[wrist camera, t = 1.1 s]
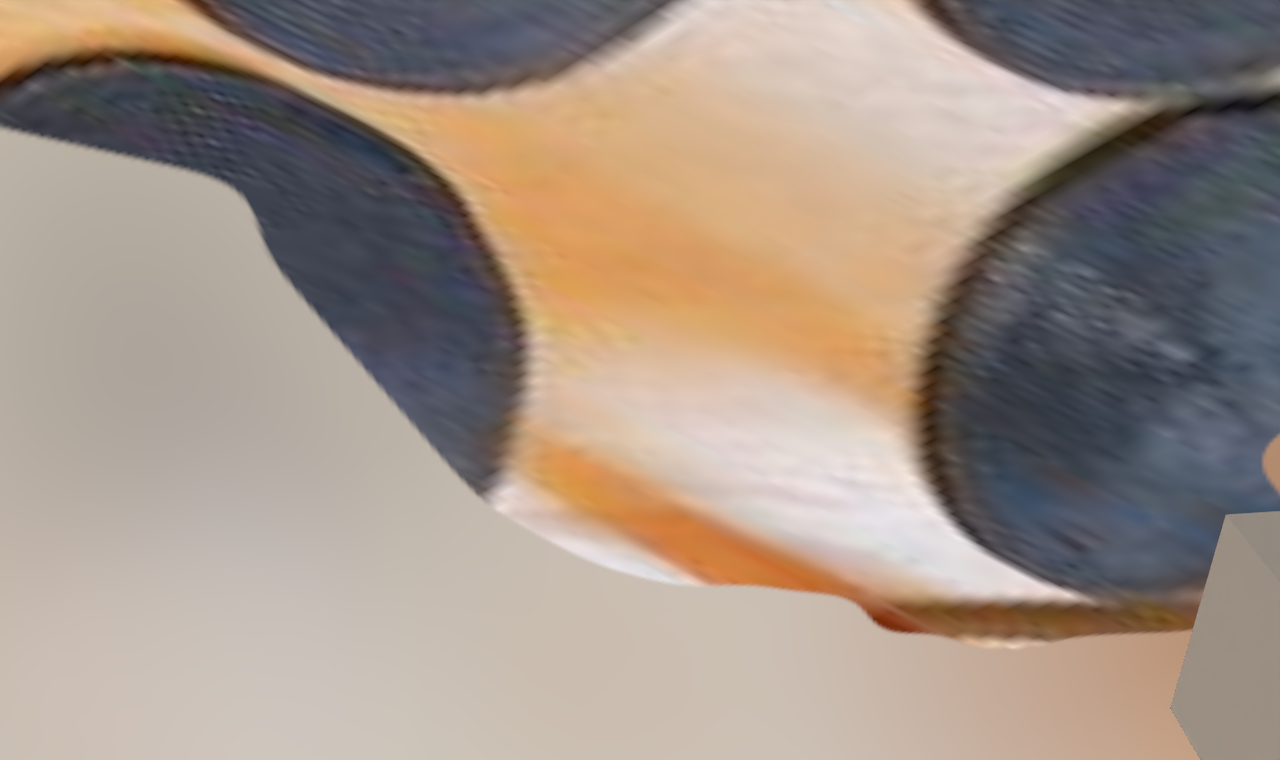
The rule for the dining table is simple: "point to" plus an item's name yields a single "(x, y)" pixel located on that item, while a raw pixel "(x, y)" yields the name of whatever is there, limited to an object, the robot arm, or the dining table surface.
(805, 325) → the dining table surface
